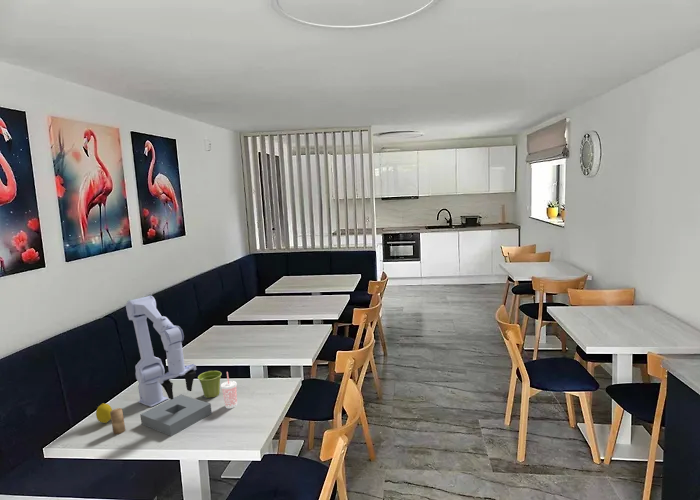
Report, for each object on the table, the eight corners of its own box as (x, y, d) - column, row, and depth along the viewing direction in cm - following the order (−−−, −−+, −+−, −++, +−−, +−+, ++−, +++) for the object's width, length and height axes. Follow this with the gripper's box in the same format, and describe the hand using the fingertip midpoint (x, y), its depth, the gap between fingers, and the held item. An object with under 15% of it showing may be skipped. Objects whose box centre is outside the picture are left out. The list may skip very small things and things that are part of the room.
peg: (111, 432, 177) (107, 412, 175) (121, 427, 180) (118, 407, 179) (117, 435, 174) (113, 414, 173) (127, 430, 178) (124, 409, 176)
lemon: (117, 420, 186) (114, 400, 185) (105, 427, 181) (102, 407, 180) (106, 418, 188) (102, 399, 186) (94, 426, 183) (91, 406, 181)
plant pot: (214, 388, 208) (211, 369, 207) (228, 392, 203) (226, 373, 201) (195, 397, 201) (193, 377, 199) (210, 402, 195) (207, 381, 194)
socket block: (141, 424, 181) (140, 414, 180) (182, 403, 196) (181, 394, 195) (171, 436, 171) (169, 425, 170) (211, 413, 185) (210, 403, 185)
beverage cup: (220, 408, 189) (215, 374, 187) (229, 401, 195) (225, 368, 192) (233, 410, 187) (229, 375, 185) (242, 402, 192) (238, 369, 190)
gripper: (163, 369, 171) (168, 405, 173) (198, 355, 182) (203, 389, 184) (152, 365, 175) (158, 400, 178) (188, 351, 186) (192, 385, 189)
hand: (180, 394), depth 181 cm, fingers open, 7 cm apart
